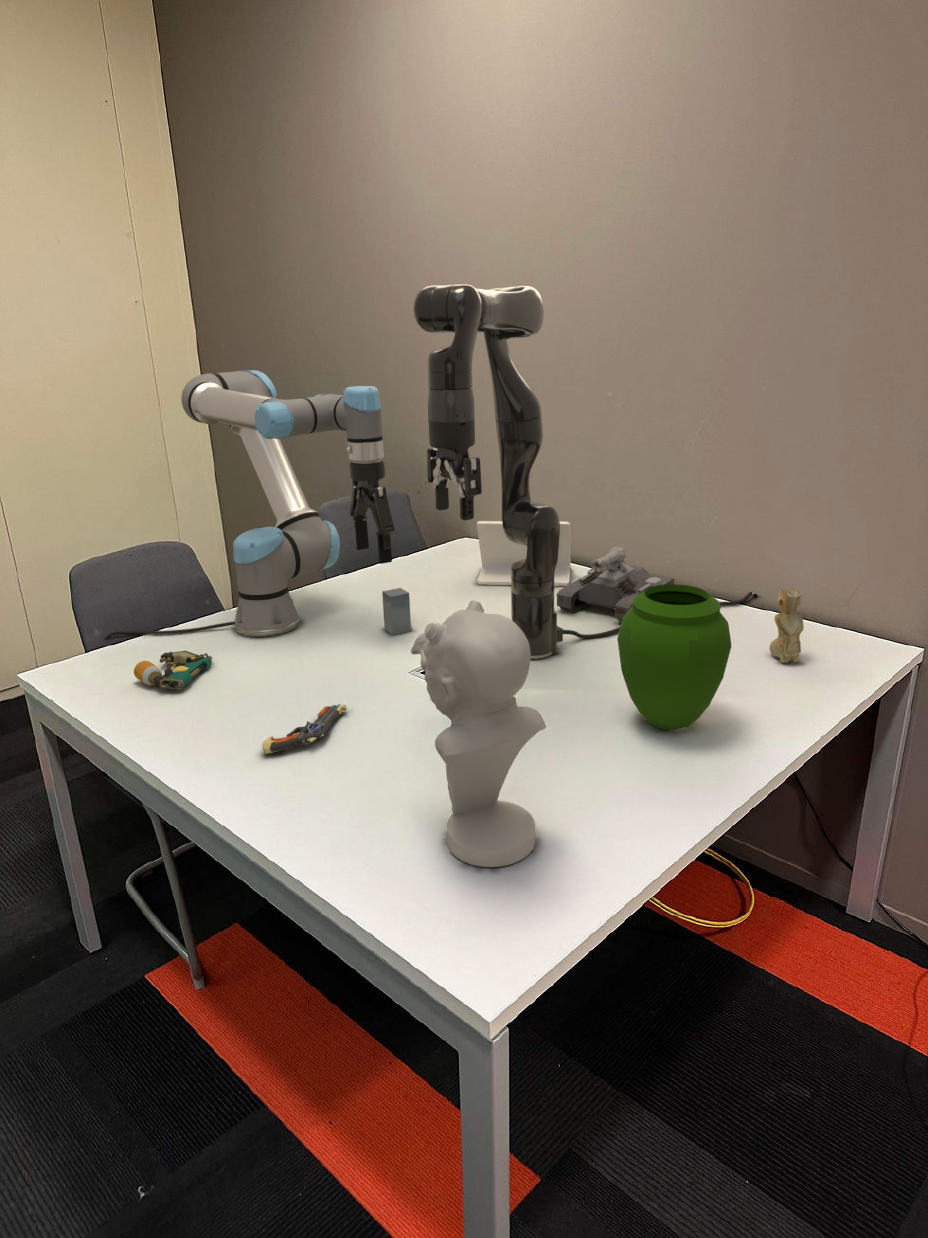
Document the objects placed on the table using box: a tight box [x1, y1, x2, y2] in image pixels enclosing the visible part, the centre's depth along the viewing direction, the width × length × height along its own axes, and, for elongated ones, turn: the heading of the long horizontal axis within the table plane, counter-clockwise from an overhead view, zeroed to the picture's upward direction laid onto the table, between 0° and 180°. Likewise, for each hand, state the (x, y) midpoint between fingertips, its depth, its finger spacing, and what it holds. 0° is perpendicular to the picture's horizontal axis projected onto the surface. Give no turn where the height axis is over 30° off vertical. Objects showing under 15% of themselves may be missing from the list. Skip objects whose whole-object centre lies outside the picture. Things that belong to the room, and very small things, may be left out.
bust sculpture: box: [410, 599, 547, 868], centre depth 121 cm, size 16×24×35 cm
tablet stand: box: [476, 520, 572, 587], centre depth 236 cm, size 18×25×17 cm
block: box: [381, 587, 412, 636], centre depth 201 cm, size 5×5×10 cm
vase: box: [616, 583, 732, 731], centre depth 151 cm, size 20×20×24 cm
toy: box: [556, 546, 676, 622], centre depth 212 cm, size 25×20×15 cm
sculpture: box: [768, 587, 805, 664], centre depth 178 cm, size 6×7×15 cm
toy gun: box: [262, 703, 348, 755], centre depth 155 cm, size 3×19×10 cm
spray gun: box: [133, 650, 213, 690], centre depth 180 cm, size 4×17×15 cm
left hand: (373, 555), depth 191 cm, fingers open, 13 cm apart
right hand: (454, 514), depth 144 cm, fingers open, 8 cm apart
